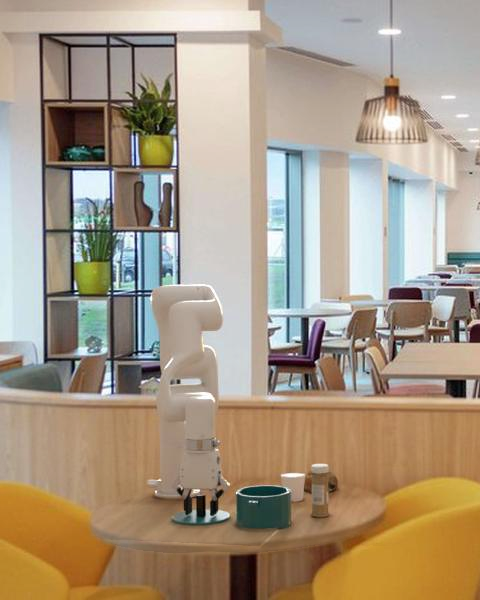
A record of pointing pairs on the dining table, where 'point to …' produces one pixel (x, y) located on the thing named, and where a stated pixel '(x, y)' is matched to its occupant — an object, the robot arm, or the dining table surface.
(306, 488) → the bread roll
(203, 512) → the lid
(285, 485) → the white cup
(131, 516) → the dining table surface
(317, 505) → the spice jar
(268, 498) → the pot
